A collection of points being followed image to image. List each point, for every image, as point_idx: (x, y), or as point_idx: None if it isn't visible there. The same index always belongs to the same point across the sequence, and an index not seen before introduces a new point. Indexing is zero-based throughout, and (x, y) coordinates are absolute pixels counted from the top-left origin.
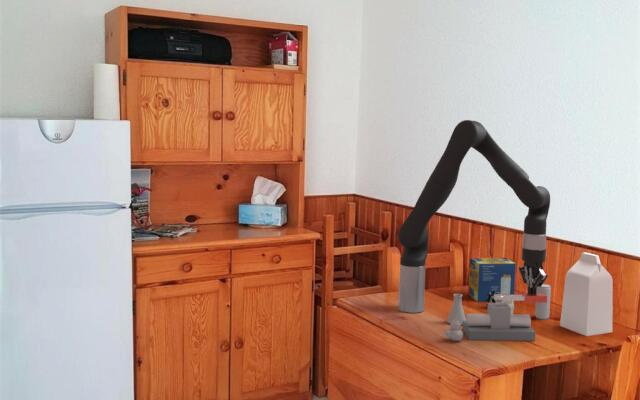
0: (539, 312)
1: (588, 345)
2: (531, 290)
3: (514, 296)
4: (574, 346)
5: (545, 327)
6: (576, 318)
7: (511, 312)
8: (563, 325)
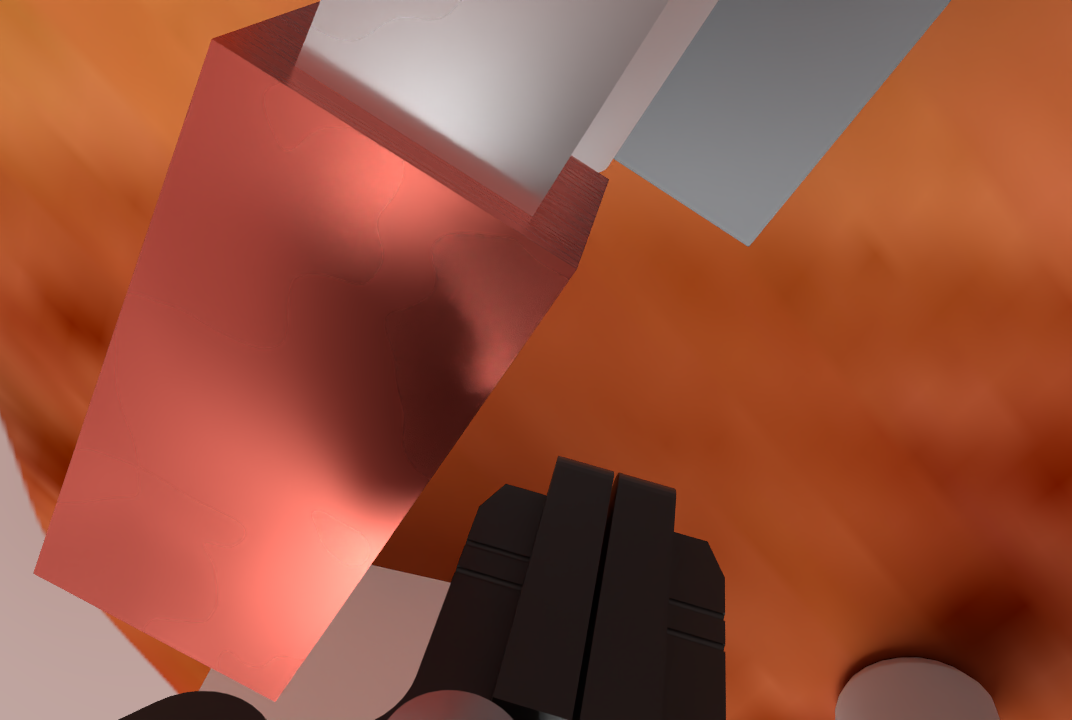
0: (917, 717)
1: (55, 347)
2: (509, 637)
3: None
4: (52, 207)
5: (667, 481)
6: (367, 690)
7: None
8: None
